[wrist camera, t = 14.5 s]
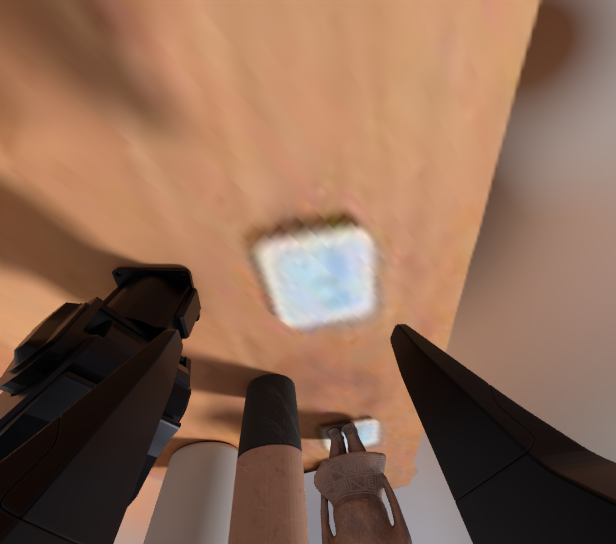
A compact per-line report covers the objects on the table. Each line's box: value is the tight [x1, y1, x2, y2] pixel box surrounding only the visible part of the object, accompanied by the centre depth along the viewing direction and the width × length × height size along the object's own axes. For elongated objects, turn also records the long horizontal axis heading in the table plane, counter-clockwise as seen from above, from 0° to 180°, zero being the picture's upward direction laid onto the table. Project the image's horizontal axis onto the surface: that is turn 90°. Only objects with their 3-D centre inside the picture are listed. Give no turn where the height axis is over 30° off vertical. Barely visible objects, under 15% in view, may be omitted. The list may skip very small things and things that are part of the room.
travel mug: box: [228, 375, 309, 544], centre depth 25 cm, size 8×8×20 cm
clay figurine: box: [314, 423, 412, 544], centre depth 34 cm, size 13×10×25 cm
